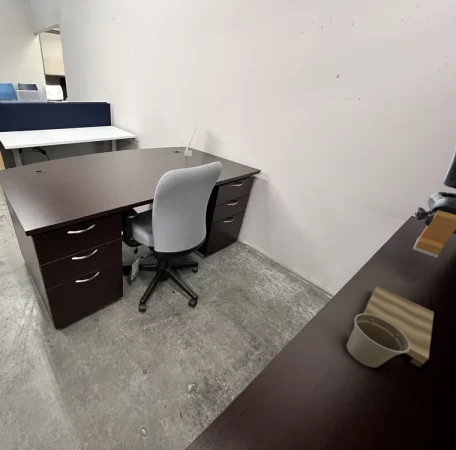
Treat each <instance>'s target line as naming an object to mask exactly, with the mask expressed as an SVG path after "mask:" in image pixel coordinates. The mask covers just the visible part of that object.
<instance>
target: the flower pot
mask: <svg viewBox="0 0 456 450" xmlns="http://www.w3.org/2000/svg"><path fill="white" fill-rule="evenodd" d="M353 321H354V322H353V329H352V331H351V334H350V336H349V338H348V341H347V343H346V350H347V351H348V353H349V354H350V356H352V357H353V358H354V359H355V360H356V361H357V362H359V363H360V364H362V365H364V366H366V367H370V368H379V367H380V366H382V365H383V364H384V363H386V362H387V361H389V360H390V359H392V358H394V357H395V356H398V355H399V356H400V355H401V354H406V353H407V352H408V351H409V350H410V349H411V344H410V341H409V340H408V338H407V337H406V335H405V334H404V333H403V332H402V331H401V330H399V329H398V328H397V327H396V326H394V325H393V324H391V323H390V322H388V321H386V320H384V319H382V318H380V317H378V316H375V315H371V314H366V313H364V314H363V313H358V314H356V315H355V316H354V320H353Z"/></svg>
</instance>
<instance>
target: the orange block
mask: <svg viewBox="0 0 456 450" xmlns="http://www.w3.org/2000/svg"><path fill="white" fill-rule="evenodd" d="M455 230H456V215H454V214H450V213H446V212H443V211H439V210H438V211H437V212H436V214H435V215H434V218H433V220H432V222H431V223H430V224H429V226H427V225H426V226H425V228H424V229H423V231H422V232H421V234H420V235H419V236H418V237H417V238H416V241H415V243H414V245H413V246H412V247H413V248H412V250H414V251H417V252H419V253H422V254H425V255H427V256H431V257H433V258H435V259H437V258H438V257H439V254H440V253H441V252H442V250H443V248H444V245H445V244H446V242H447V241H448V240H449V239H450V238H451V236H452V235H454V234H453V232H454V231H455Z"/></svg>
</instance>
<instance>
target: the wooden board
mask: <svg viewBox="0 0 456 450" xmlns="http://www.w3.org/2000/svg"><path fill="white" fill-rule="evenodd" d="M364 313H366V314H371V315H375V316H378V317H380V318H382V319H384V320H386V321H388V322H390V323H391V324H393V325H394V326H396V327H397V328H398V329H399V330H401V331H402V332H403V333H404V334H405V335H406V337H407V338H408V340H409V341H410V344H411V349H410V350H409V351H408V352H407V353H405V354H406V355H408V356H410V359H409V362H410V363H411V364H413V365H414V366H416V367H418V368H421V367H422V366H423V365H424V364H425V363H426V362H427V361H428V360H429V358H430V351H431V341H432V333H433V325H434V324H433V323H434V316H435V315H434V314H435V311H433V310H431V309H428V308H426V307H425V306H422V305H420V304H418V303H415V302H413V301H411V300H409V299H407V298H404V297H402V296H400V295H398V294H397V293H393V292H391V291H389V290H387V289H384V288H383V287H380V286H376V287H375V289H374V290H373V291H372V293H371V295H370V297H369V299H368V302H367V303H366V305H365V308H364V310H363V312H362V314H364Z"/></svg>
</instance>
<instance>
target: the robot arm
mask: <svg viewBox="0 0 456 450" xmlns="http://www.w3.org/2000/svg"><path fill="white" fill-rule="evenodd" d="M442 184H443V186H445V187H448V188H450V189H455V190H456V146H455V147H454V152H453V156H452V159H451V161H450V164H449V166H448V169H447V171H446V173H445V176H444V179H443V181H442ZM427 206H428V209H429V210H426V209H424V208H423V207H417V209H416V211H415V212H414V216H415V218H416V220H418V221H422V220H423V224H425V226H426V227H427V226H429V224H430V223H431V222H432V220H433V218H434V215H435V214H436V212H437V211H438V210H439V211H443V212H446V213H450V214H454V215H456V193H454V192H447V191H437V192H434V193H433V194H431V195H430V196H429V197H428V200H427ZM452 235H456V230H455V231H454V232H453V234H452Z"/></svg>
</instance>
